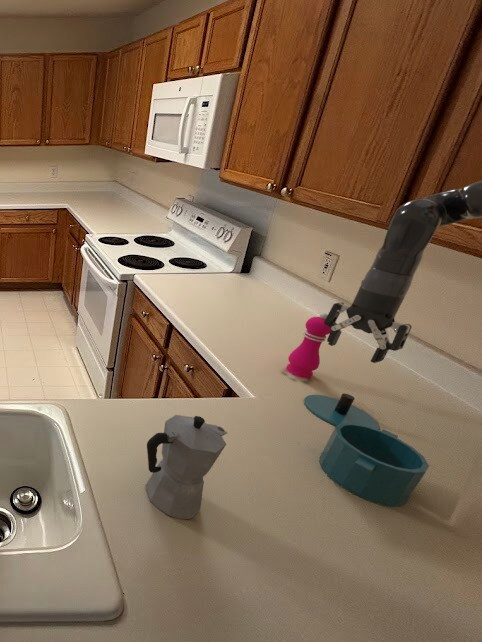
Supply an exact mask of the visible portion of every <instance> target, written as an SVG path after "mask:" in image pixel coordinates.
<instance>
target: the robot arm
mask: <svg viewBox="0 0 482 642" xmlns="http://www.w3.org/2000/svg"><path fill="white" fill-rule="evenodd" d="M472 219H482V180H478V181H475V182H472V183H469V184H467V185H464V186H462V187H459V188H455V189H450V190H447V191H443V192H439V193H435V194H432V195H431V194H430V195H427V196H424V197H419V198H416V199H412V200H409V201H407V202H405V203H403V204H402V205H400V206H398V208H397V209H396V210H395V211H394V214H393V216H392V218H391V220H390V223H389V225H388V228H387V230H386V234H385V236H384V239H383V243H382V245H381V246H380V247H379V249H378V250H377V253H376V254H375V257H374V259H373V261H372V263H371V266H370V268H369V269H368V271H367V272H366V273H365V275H364V277H363V279H362V280H361V282H360V286H359V287H358V291H357V292H356V294H355V296H354V298H353V301H352V304H351V305H350V306H349V305H346V304H345V303H344V302H336V303H333V304H332V306H331V308H330V310H329V312H328V313H327V315H328V316H327V318H326V319H325V321H324V324H325V325H327V326H329V327H330V328H331V332H330V334H328V337H327V338H326V341H327V343H328V345H329V346H330V347H333V346H336V345H337V343H338V341H339V339H340V337H341V334H342V332H343V331H341V330H343V329H345V328H348V327H352V328H353V329H355V330H359V331H362V332H364V333H367V334H372V335H373V336H372V337H373V338H374V340H376V343H377V345H378V347H376V350H375V351H374V353H373V355H372V357H371V359H370V363H373V364H377V363H380V362H382V361H384V360H385V357H386V356H387V353H388V352H389V350H390V351H394V352H395V351H399V350H402V349H403V348H404V346H405V343H406V342H407V339H408V337H409V335H410V333H411V330H412V325H411V324H410V323H405V324H404V323H401V322H397V321H395V317H396V315H397V313H398V311H399V310H400V308H401V305H402V304H403V301H404V300H405V298H406V295H407V294H408V291H409V290H410V287H411V285H412V283H413V279H414V277H415V275H416V272H417V271H418V269H419V267H420V265H421V262H422V260H423V258H424V255H425V250H426V248H427V247H428V245H429V243H430V242H431V240H432V238H433V236H434V235H435V233H436V231H437V229H438V228H440V227H444V226H448V225H452V224H455V223H459V222H464V221H467V220H472ZM344 312H346V315H347V317H348V319H345V320H343V321H340V322H339V323H337V321H338V318H339V316H340V314H342V313H344ZM389 328H393V332H394V333H395V336H394V338H393V340H392V342H391V341H390V338H389V337H390V336H389V333H388V330H387V329H389Z"/></svg>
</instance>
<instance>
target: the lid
mask: <svg viewBox="0 0 482 642" xmlns="http://www.w3.org/2000/svg"><path fill="white" fill-rule="evenodd" d="M354 402H355V396H353V395H351V394H349V393H344V392H343V393H342V394H341V396H340V397H339V399H338V398H336V397H333V396H328V395H323V394H309V395H307V396H305V397H304V399H303V404H304V406H305V408H306V409H307V410H308V411H309V412H311V413H312V414H313V415H314V416H316V417H317V418H319V419H321V420H322V421H324V422H326V423H327V424H330V425H332V426H334V427H336V426H337V425H338V424H339V423H355V424H361V425H366V426H369V427H372V428H375V429H378V430H380V424H379V423H378V421H377V419H375V418H374V417H373V416H372V415H371V414H369V413H368V412H367V411H365V410H363V409H361V408H360V407H358V406H356V405H354V404H353V403H354Z"/></svg>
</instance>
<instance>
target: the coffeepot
mask: <svg viewBox="0 0 482 642" xmlns="http://www.w3.org/2000/svg"><path fill="white" fill-rule="evenodd" d="M227 434H228V431H226V430H225V429H224V428H223V427H221V426H218V425H217V424H210V423H207V422H206V420H205V418H203V417H202V416H198V415H195V416H187V415H181V414H174V415H173V416H171V417H169V418H168V419H167V420H165V421H164V429H163V432H157V433H155V434H154V435H152V437H150V438H149V439H148V440H147V442H146V452H147V466H148V471H149V472H150V473H151V476H150V477H149V478H148V480H147V482H146V484H145V489H146V495H147V497H148V499H149V501H150V502H151V503H152V505H154V507H155V508H156V509H158V510H159V511H160V512H162V513H163V514H165V515H167V516H169V517H172V518H175V519H179V520H192V518H193V517H195V516H196V515H197V514H198V512H200V510H201V507H202V499H203V490H204V484H205V482H204V481H205V480H204V477H205V476H206V475H207V474H208V473H209V472H210V471H211V469H212V467H213V466H214V464H215V463H216V462H217V460H218V459H219V457H220V455H221V453H222V452H223V450H224V449H225V447H226V446H227V443H226V441H225V439H224V436H225V435H227ZM160 445H162V446H161V455H162V459H161V460H160V461H159V462H158V458H157V454H158V447H159V446H160ZM157 463H158V464H157Z"/></svg>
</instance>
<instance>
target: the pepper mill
mask: <svg viewBox="0 0 482 642" xmlns="http://www.w3.org/2000/svg"><path fill="white" fill-rule="evenodd" d="M327 316H328V313H327V312H320V314H319V316H312V317H310V318H307V321H306V322H305V329H306V330H304V333H303V340H302V341H301V343H300V344H299V346H297V347H295V349H293V350H292V351H291V352H290V354H289V355H288V359H287V360H288V362H289V363H288V364H287V365H286V367H285V370H286V371H287V372H288V373H290V374H291V375H294V376H296V377H299V378H302V379H311V378H312V377H313V374H314V373H313V372H314V371H315V370H317V369H318V368H319V366H320V365H321V364H320V363H321V357H320V348H321V345H322V344H323V342H325V341H326V339H327V335H328V336H329V334H330V332H331V328H330V327H329V326H327V325H325V324H324V321H325V319H326V318H327Z"/></svg>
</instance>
